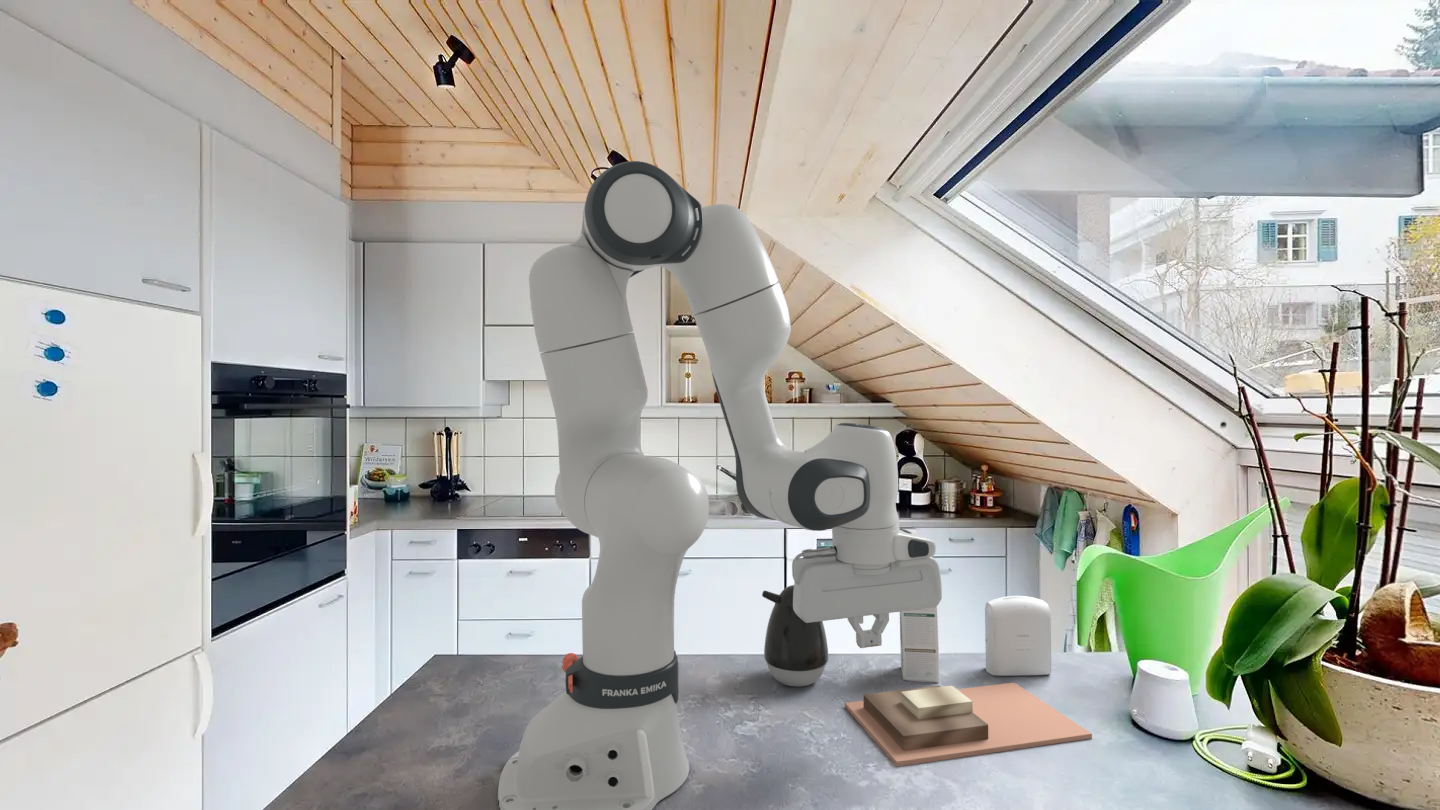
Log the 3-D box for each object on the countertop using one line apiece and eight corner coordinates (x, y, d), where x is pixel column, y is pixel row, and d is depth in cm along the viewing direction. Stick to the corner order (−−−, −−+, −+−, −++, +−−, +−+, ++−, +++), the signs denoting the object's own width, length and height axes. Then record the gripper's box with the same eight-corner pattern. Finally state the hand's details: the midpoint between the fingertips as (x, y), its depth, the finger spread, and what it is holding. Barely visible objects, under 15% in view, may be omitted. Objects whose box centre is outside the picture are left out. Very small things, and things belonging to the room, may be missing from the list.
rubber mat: (896, 766, 82) (896, 761, 82) (845, 706, 98) (845, 702, 98) (1092, 738, 88) (1091, 733, 88) (1013, 686, 104) (1013, 682, 104)
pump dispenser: (762, 666, 113) (761, 576, 112) (824, 666, 112) (823, 576, 112) (764, 694, 103) (762, 595, 102) (832, 694, 102) (831, 595, 102)
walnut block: (903, 755, 85) (903, 736, 85) (863, 711, 97) (863, 694, 96) (988, 743, 87) (988, 724, 87) (939, 702, 99) (939, 685, 99)
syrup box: (940, 683, 105) (939, 591, 105) (901, 680, 107) (900, 590, 106) (935, 668, 111) (935, 581, 111) (899, 666, 112) (898, 580, 112)
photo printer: (991, 678, 107) (991, 601, 107) (981, 667, 112) (980, 593, 111) (1056, 677, 107) (1055, 600, 107) (1043, 666, 111) (1043, 592, 111)
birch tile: (918, 719, 89) (918, 708, 89) (900, 702, 94) (900, 691, 94) (972, 712, 91) (972, 701, 91) (952, 695, 96) (952, 685, 96)
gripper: (799, 557, 84) (803, 665, 85) (946, 542, 89) (949, 645, 89) (784, 545, 90) (787, 646, 91) (922, 532, 95) (925, 628, 95)
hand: (868, 645), depth 90 cm, fingers closed
